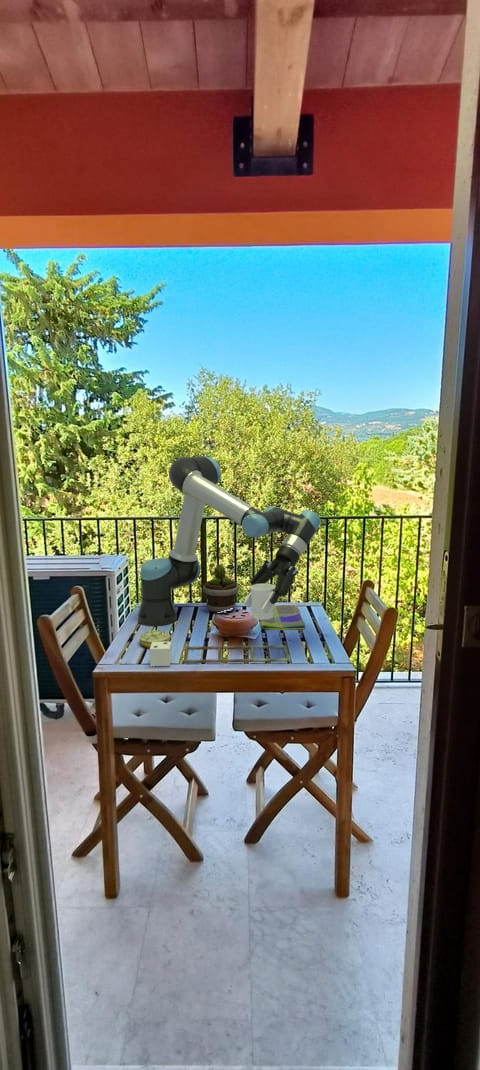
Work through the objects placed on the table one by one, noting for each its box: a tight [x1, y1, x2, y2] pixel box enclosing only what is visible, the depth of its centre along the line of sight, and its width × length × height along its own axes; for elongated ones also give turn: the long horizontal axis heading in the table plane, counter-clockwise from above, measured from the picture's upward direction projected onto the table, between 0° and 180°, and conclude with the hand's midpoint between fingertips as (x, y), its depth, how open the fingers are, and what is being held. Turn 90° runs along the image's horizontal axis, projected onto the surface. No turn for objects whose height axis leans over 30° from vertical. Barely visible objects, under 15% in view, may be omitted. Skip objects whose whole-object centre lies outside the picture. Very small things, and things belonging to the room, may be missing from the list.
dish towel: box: [258, 604, 306, 631], centre depth 211 cm, size 18×24×3 cm
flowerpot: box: [202, 562, 240, 614], centre depth 221 cm, size 14×15×20 cm
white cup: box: [250, 583, 276, 620], centre depth 173 cm, size 8×8×10 cm
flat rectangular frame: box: [182, 644, 291, 664], centre depth 176 cm, size 34×12×1 cm, turn 92°
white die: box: [149, 641, 173, 668], centre depth 169 cm, size 6×6×6 cm
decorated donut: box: [138, 629, 171, 649], centre depth 186 cm, size 10×11×4 cm
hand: (255, 608), depth 171 cm, fingers closed on white cup, 8 cm apart
